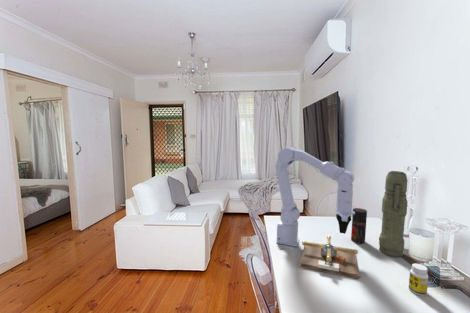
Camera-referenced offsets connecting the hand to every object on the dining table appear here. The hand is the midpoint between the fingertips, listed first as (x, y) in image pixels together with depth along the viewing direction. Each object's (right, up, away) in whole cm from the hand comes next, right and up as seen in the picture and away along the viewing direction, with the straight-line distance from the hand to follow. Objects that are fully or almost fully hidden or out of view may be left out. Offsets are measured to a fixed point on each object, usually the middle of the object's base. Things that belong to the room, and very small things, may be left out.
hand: (342, 232), depth 99 cm
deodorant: (+14, -9, +15) cm, 23 cm away
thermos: (+23, -10, +4) cm, 25 cm away
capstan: (-7, -9, -2) cm, 11 cm away
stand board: (-7, -10, -2) cm, 12 cm away
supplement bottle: (+15, -12, -21) cm, 29 cm away
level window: (-10, -9, -11) cm, 17 cm away
